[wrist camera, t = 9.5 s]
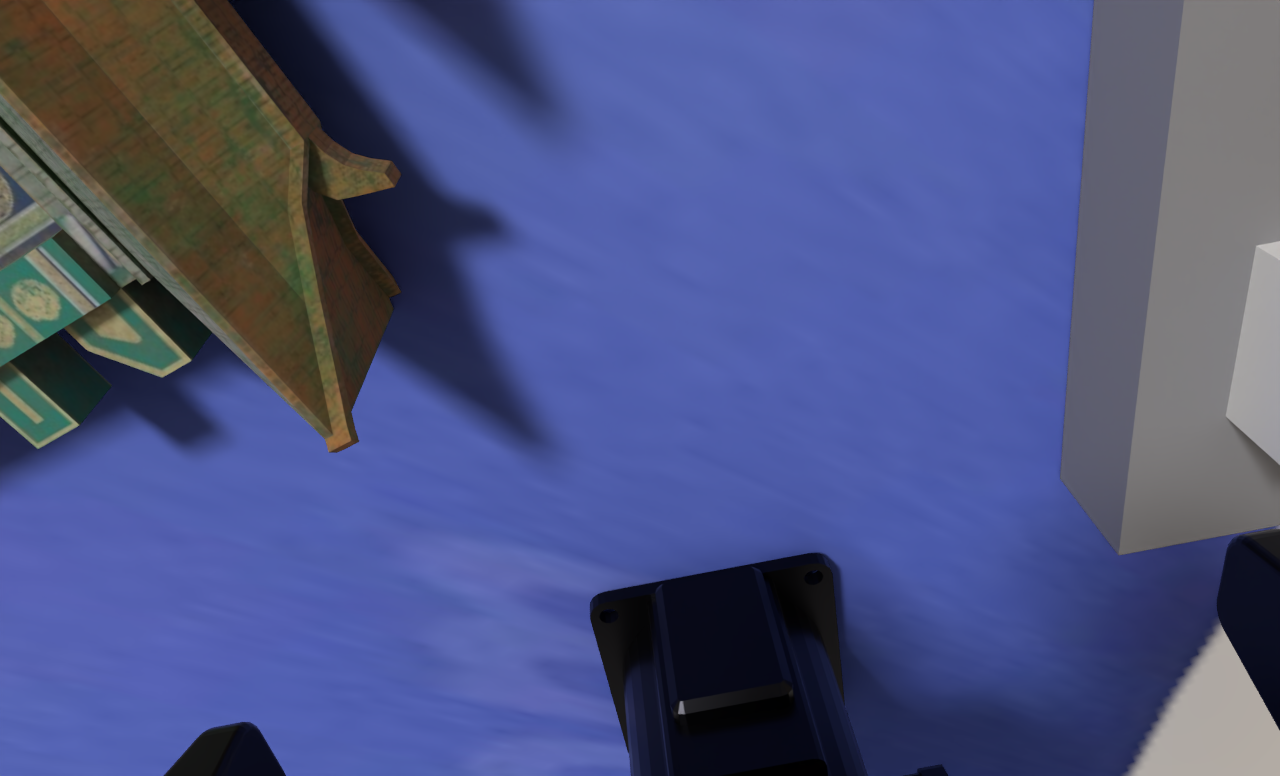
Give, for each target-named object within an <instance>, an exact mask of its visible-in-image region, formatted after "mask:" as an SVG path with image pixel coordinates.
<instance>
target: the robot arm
mask: <svg viewBox="0 0 1280 776" xmlns="http://www.w3.org/2000/svg"><path fill="white" fill-rule="evenodd" d="M813 570H818V571H817V572H816V573H814V574H811V575H809V574H807V573H808V572H810V571H813ZM606 609H613V610H615V611H612V612H603V611H604V610H606ZM1217 611H1218V616H1219V619H1220V622H1221V625H1222V627H1223V629H1224V631H1225V633H1226V635H1227V636H1228V638H1229V640H1230V642H1231V643H1232V645H1233V647H1234V649H1235V651H1236V652H1237V654H1238V656H1239V658H1240V659H1241V662H1242V663H1243V665H1244V667H1245V669H1246V670H1247V672H1248V674H1249V676H1250V678H1251V679H1252V681H1253V683H1254V685H1255V687H1256V688H1257V690H1258V692H1259V694H1260V696H1261V697H1262V699H1263V701H1264V703H1265V705H1266V707H1267V708H1268V710H1269V712H1270V714H1271V716H1272V717H1273V719H1274V721H1275V722H1276V725H1277V726H1278V728H1279V730H1280V529H1270V530H1264V531H1259V532H1254V533H1248V534H1243V535H1239V536H1236V537H1234V538H1233V539H1232V540H1231V542H1230V543H1229V544H1228V547H1227V551H1226V556H1225V561H1224V566H1223V571H1222V576H1221V581H1220V586H1219V591H1218V596H1217ZM590 620H591V623H592V627H593V630H594V634H595V637H596V641H597V644H598V648H599V651H600V655H601V658H602V662H603V665H604V669H605V673H606V676H607V680H608V683H609V687H610V690H611V694H612V697H613V701H614V704H615V708H616V711H617V715H618V718H619V722H620V725H621V729H622V732H623V736H624V740H625V743H626V747H627V750H628V753H629V758H630V770H631V776H868V775H867V772H866V769H865V766H864V763H863V760H862V757H861V754H860V751H859V748H858V745H857V742H856V738H855V735H854V732H853V729H852V726H851V723H850V720H849V717H848V714H847V711H846V708H845V703H844V692H843V682H842V671H841V660H840V650H839V639H838V628H837V618H836V607H835V596H834V586H833V575H832V572H831V569H830V566H829V563H828V561H827V559H826V558H825V557H824V556H823V555H820V554H817V553H808V554H803V555H798V556H792V557H787V558H782V559H777V560H771V561H766V562H761V563H755V564H750V565H745V566H739V567H734V568H729V569H724V570H718V571H713V572H708V573H702V574H697V575H692V576H686V577H681V578H676V579H671V580H665V581H660V582H655V583H649V584H644V585H639V586H633V587H628V588H623V589H618V590H612V591H607V592H603V593H600V594H598V595H596V596H595V597H594V598H593V599H592V601H591V602H590ZM917 772H918V773H915V774H909V775H904V776H948V774H947V772H946V771H945V769H944V767H943V766H942V764H941V765H935V766H930V767H924V768H919V769H918V771H917ZM164 776H286V775H285V773H284V771H283V769H282V767H281V766H280V764H279V762H278V761H277V759H276V757H275V756H274V754H273V752H272V750H271V749H270V747H269V745H268V744H267V742H266V740H265V739H264V737H263V735H262V734H261V732H260V730H259V729H258V728H257V726H255V725H254V724H252V723H250V722H240V723H235V724H230V725H224V726H219V727H214V728H211V729H208V730H206V731H205V732H203V733H202V734H201V735H200V736H199V737H198V738H197V739H196V740H195V741H194V742H193V743H192V744H191V746H190V747H189V748H188V749H187V750H186V751H185V752H184V753H183V755H182V756H181V757H180V758H179V759H178V760H177V761H176V762H175V764H174V765H173V766H172V767H171V768H170V769H169V770H168V771H167V773H166V774H165V775H164Z"/></svg>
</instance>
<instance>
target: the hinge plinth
mask: <svg viewBox="0 0 1280 776" xmlns="http://www.w3.org/2000/svg"><path fill="white" fill-rule="evenodd" d="M1060 479H1061V481H1062V482H1063V483H1064V485H1065V486H1066V487H1067V489H1068V490H1069V491H1070V492H1071V494H1072V495H1073V496H1074V498H1075V499H1076V500H1077V502H1078V503H1079V504H1080V506H1081V507H1082V508H1083V510H1084V511H1085V512H1086V513H1087V515H1088V516H1089V517H1090V519H1091V520H1092V521H1093V523H1094V524H1095V525H1096V527H1097V528H1098V529H1099V531H1100V532H1101V533H1102V534H1103V536H1104V537H1105V538H1106V540H1107V541H1108V542H1109V544H1110V545H1111V546H1112V548H1113V549H1114V550H1115V552H1116V553H1117V554H1118V555H1123V554H1129V553H1134V552H1139V551H1145V550H1150V549H1155V548H1161V547H1166V546H1171V545H1177V544H1182V543H1187V542H1193V541H1198V540H1203V539H1209V538H1214V537H1220V536H1225V535H1230V534H1236V533H1241V532H1246V531H1252V530H1257V529H1262V528H1268V527H1273V526H1278V525H1280V0H1094V8H1093V22H1092V36H1091V50H1090V64H1089V78H1088V92H1087V107H1086V121H1085V135H1084V149H1083V163H1082V177H1081V191H1080V205H1079V219H1078V233H1077V247H1076V261H1075V275H1074V289H1073V303H1072V317H1071V331H1070V345H1069V360H1068V374H1067V388H1066V402H1065V416H1064V430H1063V444H1062V458H1061V472H1060Z"/></svg>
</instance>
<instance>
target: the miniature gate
mask: <svg viewBox="0 0 1280 776" xmlns="http://www.w3.org/2000/svg"><path fill="white" fill-rule="evenodd" d="M400 176H401V173H400V171H399V170H398V169H397V167H396V166H395V165H394V163H393V162H392V161H389V160H381V159H374V158H368V157H365V156H361V155H357V154H354V153H351V152H350V151H348V150H347V149H345V148H344V147H342V146H341V145H339V144H338V143H336V142H335V141H333V140H332V139H331V138H330V137H329V136H328V135H327V134H326V133H325V132H324V131H323V130H322V128H321V122H320V120H319V119H318V118H317V116H316V115H315V114H314V112H313V111H312V110H311V108H310V107H309V106H308V104H307V103H306V102H305V101H304V99H303V98H302V97H301V95H300V94H299V93H298V91H297V90H296V89H295V88H294V86H293V85H292V84H291V82H290V81H289V80H288V78H287V77H286V76H285V74H284V73H283V72H282V71H281V69H280V68H279V67H278V65H277V64H276V63H275V61H274V60H273V59H272V58H271V56H270V55H269V54H268V52H267V51H266V50H265V48H264V47H263V46H262V44H261V43H260V42H259V41H258V39H257V38H256V37H255V35H254V34H253V33H252V31H251V30H250V29H249V28H248V26H247V25H246V24H245V22H244V21H243V20H242V18H241V17H240V16H239V14H238V13H237V12H236V11H235V9H234V8H233V7H232V5H231V4H230V3H229V1H228V0H0V417H1V418H2V419H4V420H5V421H6V422H7V423H8V424H9V425H11V426H12V427H13V428H14V429H15V430H16V431H17V432H19V433H20V434H21V435H22V436H23V437H24V438H26V439H27V440H28V441H29V442H30V443H31V444H33V445H34V446H35V447H36V448H37V449H39V448H41V447H43V446H45V445H46V444H48V443H50V442H51V441H53V440H55V439H57V438H58V437H60V436H62V435H64V434H65V433H67V432H69V431H71V430H72V429H74V428H76V427H77V426H79V425H80V424H81V423H82V422H83V421H84V419H85V418H86V417H87V416H88V414H89V413H90V412H91V411H92V410H93V408H94V407H95V406H96V405H97V403H98V402H99V401H100V400H101V399H102V397H103V396H104V395H105V394H106V392H107V391H108V390H109V389H110V388H111V386H112V385H111V384H110V383H109V382H108V381H107V380H106V379H105V378H104V377H103V376H102V375H101V374H100V373H98V372H97V371H96V370H95V369H94V368H93V367H92V366H91V365H90V364H89V363H88V362H87V361H86V360H85V359H84V358H83V357H82V356H81V355H80V354H78V353H77V352H76V351H75V350H74V349H73V348H72V347H71V346H70V345H69V344H68V343H67V342H66V341H65V340H64V339H63V338H62V337H61V336H59V335H58V334H57V333H56V332H58V331H59V330H61V329H62V328H64V329H65V330H66V331H67V332H68V333H69V334H70V335H72V336H73V337H74V338H75V339H76V340H77V341H78V342H79V343H80V344H81V345H82V346H83V347H84V348H85V349H86V350H87V351H90V352H92V353H95V354H98V355H101V356H104V357H106V358H109V359H112V360H115V361H117V362H120V363H123V364H126V365H128V366H131V367H134V368H137V369H140V370H142V371H145V372H148V373H151V374H153V375H156V376H159V377H162V378H163V377H164V376H166V375H168V374H169V373H171V372H173V371H175V370H176V369H178V368H180V367H182V366H183V365H185V364H187V363H189V362H190V361H192V360H193V358H194V357H195V356H196V354H197V353H198V351H199V350H200V349H201V347H202V346H203V344H204V343H205V342H206V340H207V339H208V337H209V336H210V335H211V333H212V332H213V333H214V334H215V335H216V336H217V337H218V338H219V339H220V340H221V341H222V342H223V343H224V344H225V345H226V346H227V347H228V348H230V349H231V350H232V351H233V352H234V353H235V354H236V355H237V356H238V357H239V358H240V359H241V360H242V361H243V362H244V363H245V364H246V365H247V366H248V367H250V368H251V369H252V370H253V371H254V372H255V373H256V374H257V375H258V376H259V377H260V378H261V379H262V380H263V381H264V382H265V383H266V384H267V385H268V386H270V387H271V388H272V389H273V390H274V391H275V392H276V393H277V394H278V395H279V396H280V397H281V398H282V399H283V400H284V401H285V402H286V403H287V404H288V405H289V406H291V407H292V408H293V409H294V410H295V411H296V412H297V413H298V414H299V415H300V416H301V417H302V418H303V419H304V420H305V421H306V422H307V423H308V424H309V425H311V426H312V427H313V428H314V429H315V430H316V431H317V432H318V433H319V434H320V435H321V436H322V437H323V438H324V439H325V441H326V444H327V448H328V451H329V452H335V453H337V452H339V451H342V450H344V449H346V448H348V447H350V446H352V445H353V444H355V443H357V442H359V440H358V436H357V433H356V430H355V426H354V422H353V417H352V413H351V411H352V409H353V406H354V404H355V401H356V399H357V397H358V394H359V392H360V389H361V387H362V385H363V382H364V380H365V377H366V375H367V372H368V370H369V368H370V365H371V363H372V360H373V358H374V356H375V353H376V351H377V348H378V346H379V344H380V341H381V339H382V336H383V334H384V332H385V329H386V327H387V324H388V322H389V320H390V317H391V315H392V312H393V310H394V309H393V306H392V304H391V302H390V299H389V298H390V297H392V296H395V295H397V294H399V293H401V291H400V289H399V287H398V285H397V283H396V281H395V280H394V278H393V276H392V275H391V274H390V272H389V271H388V270H387V269H386V267H385V266H384V265H383V264H382V262H381V261H380V260H379V259H378V257H377V256H376V255H375V254H374V252H373V251H372V250H371V249H370V247H369V246H368V245H367V243H366V242H365V241H364V240H363V238H362V237H361V236H360V235H359V233H358V232H357V231H356V229H355V227H354V224H353V222H352V220H351V218H350V215H349V213H348V211H347V209H346V206H345V204H344V202H343V200H342V199H345V198H350V197H355V196H360V195H364V194H368V193H372V192H376V191H380V190H384V189H388V188H392V187H395V186H396V184H397V182H398V180H399V178H400Z"/></svg>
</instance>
